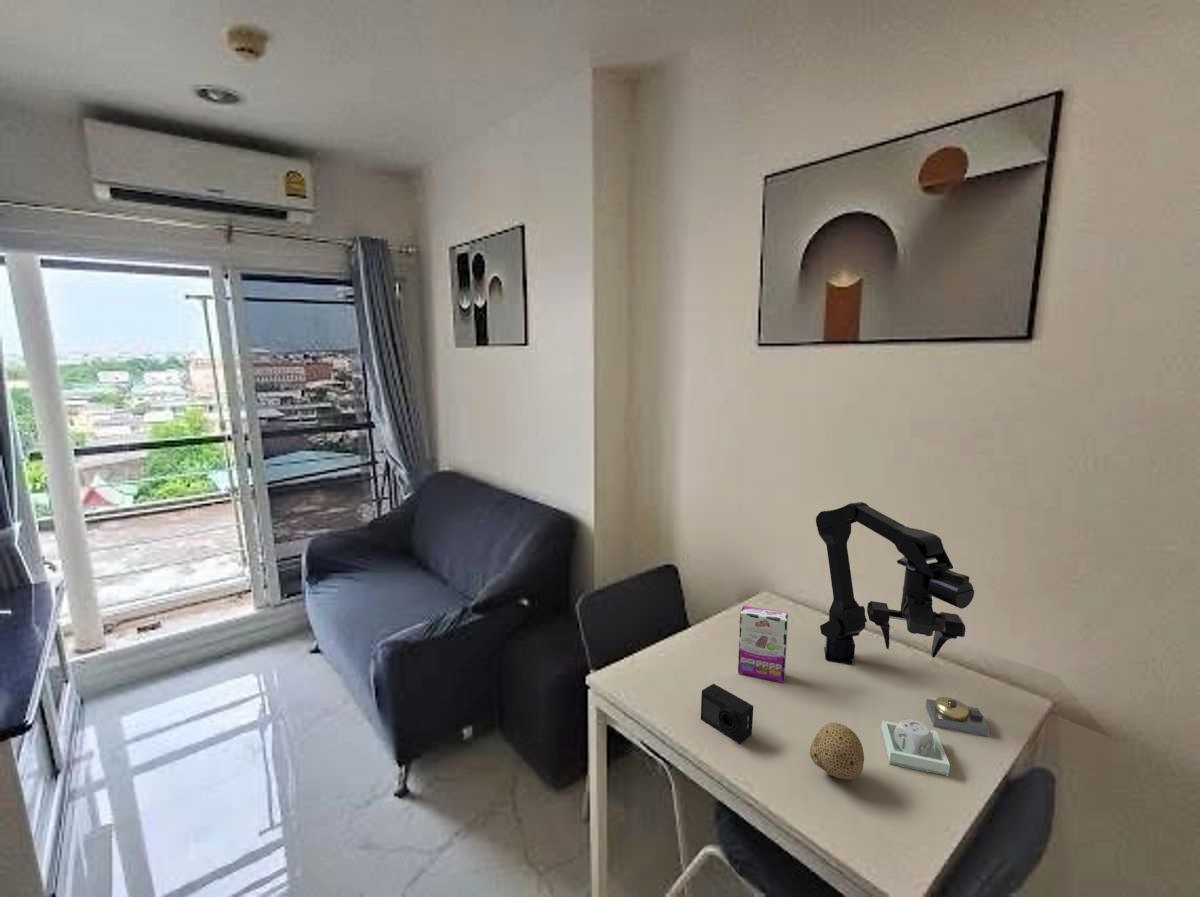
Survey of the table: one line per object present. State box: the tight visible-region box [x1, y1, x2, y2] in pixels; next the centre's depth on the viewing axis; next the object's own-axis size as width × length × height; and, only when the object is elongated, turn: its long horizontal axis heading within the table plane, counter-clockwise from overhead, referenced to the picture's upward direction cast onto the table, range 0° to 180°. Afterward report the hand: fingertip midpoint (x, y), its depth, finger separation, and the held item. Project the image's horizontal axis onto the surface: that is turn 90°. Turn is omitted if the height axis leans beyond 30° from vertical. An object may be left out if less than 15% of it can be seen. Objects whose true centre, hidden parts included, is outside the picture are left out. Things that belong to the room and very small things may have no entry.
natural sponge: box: [809, 722, 865, 780], centre depth 101 cm, size 9×9×10 cm
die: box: [894, 718, 934, 757], centre depth 108 cm, size 5×5×5 cm
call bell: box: [925, 696, 990, 737], centre depth 117 cm, size 10×7×4 cm
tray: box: [880, 720, 951, 776], centre depth 108 cm, size 10×10×2 cm
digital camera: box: [700, 683, 754, 745], centre depth 115 cm, size 10×5×7 cm, turn 40°
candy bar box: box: [737, 605, 789, 684], centre depth 134 cm, size 11×5×16 cm, turn 68°
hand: (909, 652), depth 124 cm, fingers open, 9 cm apart
